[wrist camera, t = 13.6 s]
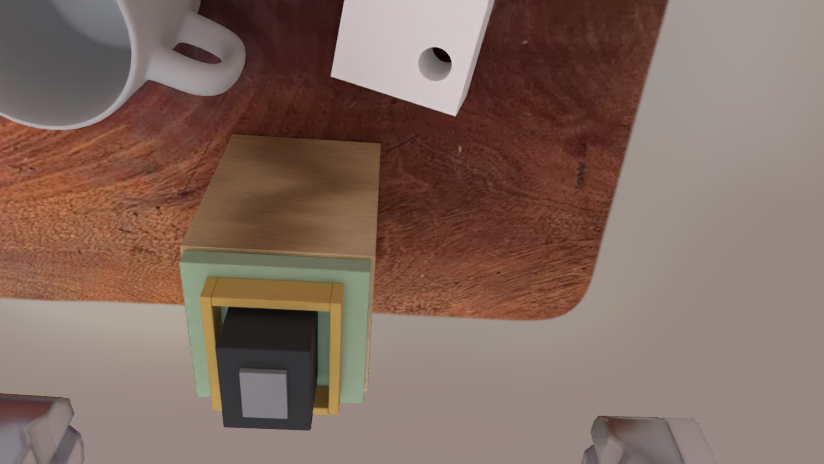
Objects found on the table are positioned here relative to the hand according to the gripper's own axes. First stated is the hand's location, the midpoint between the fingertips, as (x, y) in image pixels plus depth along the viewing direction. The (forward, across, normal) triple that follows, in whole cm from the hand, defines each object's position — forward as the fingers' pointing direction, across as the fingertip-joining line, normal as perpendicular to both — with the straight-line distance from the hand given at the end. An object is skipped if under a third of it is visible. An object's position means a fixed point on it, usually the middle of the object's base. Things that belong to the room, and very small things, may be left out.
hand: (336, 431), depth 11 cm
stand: (+31, +4, +14) cm, 34 cm away
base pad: (+19, +4, +14) cm, 24 cm away
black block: (+18, +4, +14) cm, 23 cm away
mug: (+31, +12, +1) cm, 33 cm away
